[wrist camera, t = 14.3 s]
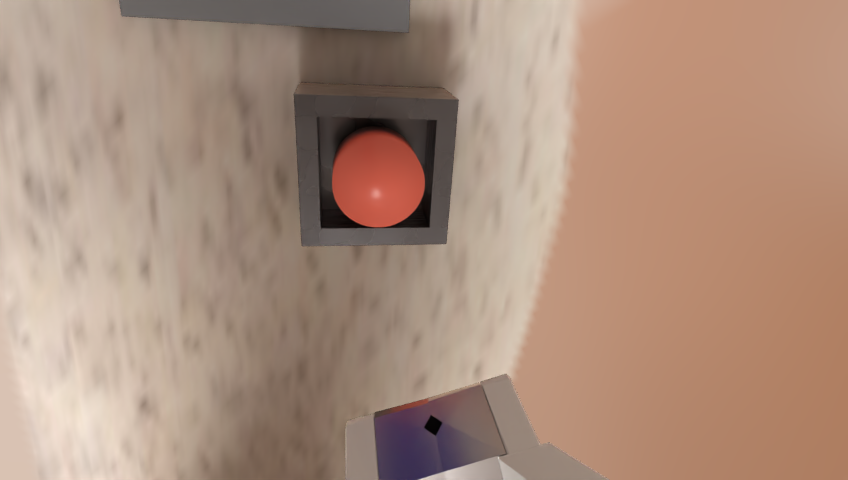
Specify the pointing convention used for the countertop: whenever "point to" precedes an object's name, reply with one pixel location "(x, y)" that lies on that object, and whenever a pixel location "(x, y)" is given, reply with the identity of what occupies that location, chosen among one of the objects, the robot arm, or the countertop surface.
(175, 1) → the picture board
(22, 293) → the countertop surface
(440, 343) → the countertop surface
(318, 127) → the button housing
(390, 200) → the button
